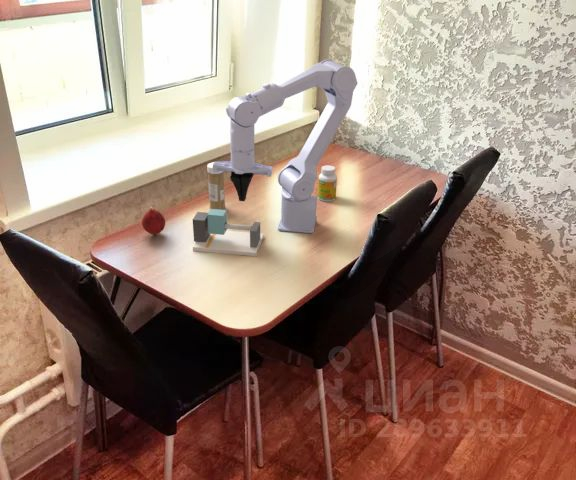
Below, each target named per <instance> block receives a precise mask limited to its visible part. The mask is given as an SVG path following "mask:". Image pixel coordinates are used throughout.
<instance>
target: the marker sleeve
mask: <svg viewBox="0 0 576 480" xmlns="http://www.w3.org/2000/svg"><path fill="white" fill-rule="evenodd" d="M207 213H208V234H219V235H224V234H225V232H226V230H227V229H226V228H224V224H228V211H227V209H224V210H220V209H211V210H210V209H209V211H208V212H207ZM227 231H228V230H227Z"/></svg>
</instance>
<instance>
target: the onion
mask: <svg viewBox="0 0 576 480" xmlns="http://www.w3.org/2000/svg"><path fill="white" fill-rule="evenodd" d="M141 225H142V228H143V230H144V231H145V232H147V233H148V234H150V235H152V236H157V235H158V234H160V233H161V232H162V231H163V230H164V228H165V226H166V218H165V216H164V215H163V214H162V213H161V212H160V210H157V209H155V208H154V207H153V206H150V207H149V210H147V211H146V213H144V214H143V216H142V219H141Z"/></svg>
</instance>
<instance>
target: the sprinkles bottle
mask: <svg viewBox="0 0 576 480" xmlns="http://www.w3.org/2000/svg"><path fill="white" fill-rule="evenodd" d="M214 162H215V161H214ZM214 162H210V163H207V166H206V168H207V169H206V170H207V171H206V172H207V174H208V175H207V178H208V181H207V182H208V196H209V211H210V210H211V209H220V210H226V201H225V199H226V197H225V196H226V195H225V193H226V192H225V181H224V180H225V178H224V176H225V175H224V173H225V171H217V172H213V163H214Z"/></svg>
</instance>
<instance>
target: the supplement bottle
mask: <svg viewBox="0 0 576 480" xmlns="http://www.w3.org/2000/svg"><path fill="white" fill-rule="evenodd" d="M320 168H321V170H320V172H321V173H320V174H319V175H318V182H317V183H318V184H317V200H319V201H320V202H326V203H329V202H333V201H335V200H336V195H337V185H338V184H337V183H338V175H336V167H335V166H333V165H326V164H325V165H322V166H321V167H320Z"/></svg>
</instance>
